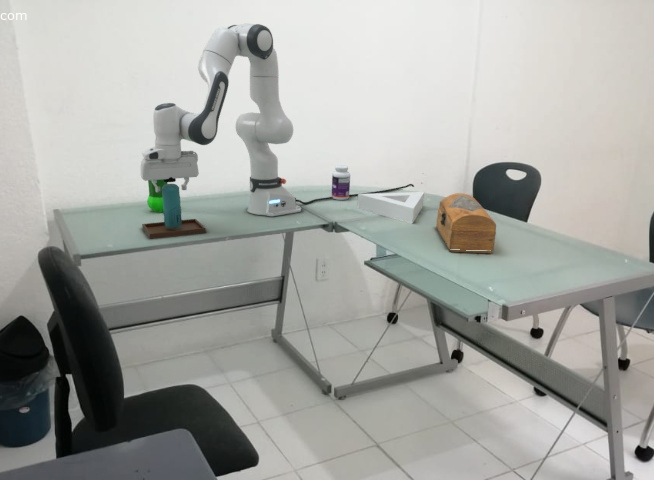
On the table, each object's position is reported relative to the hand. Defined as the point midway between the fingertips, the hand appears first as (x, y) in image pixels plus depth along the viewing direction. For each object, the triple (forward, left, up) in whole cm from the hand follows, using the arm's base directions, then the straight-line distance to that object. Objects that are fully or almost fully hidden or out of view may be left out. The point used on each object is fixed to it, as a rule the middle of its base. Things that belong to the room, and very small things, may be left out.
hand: (171, 190), depth 217 cm
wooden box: (-94, +49, -15) cm, 107 cm away
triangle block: (-97, +6, -15) cm, 99 cm away
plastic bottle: (-1, -30, -15) cm, 34 cm away
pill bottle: (-81, -22, -15) cm, 86 cm away
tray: (0, 0, -15) cm, 15 cm away
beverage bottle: (0, 0, -15) cm, 15 cm away
